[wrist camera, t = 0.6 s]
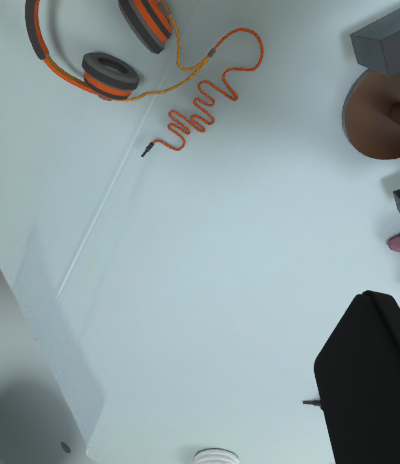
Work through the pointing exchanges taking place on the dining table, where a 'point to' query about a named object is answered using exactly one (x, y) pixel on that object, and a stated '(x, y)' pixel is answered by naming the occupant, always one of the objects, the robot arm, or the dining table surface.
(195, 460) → the stack of white coasters
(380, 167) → the dining table surface
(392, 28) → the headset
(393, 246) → the video game controller
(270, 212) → the dining table surface
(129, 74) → the headphones
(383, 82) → the headphone stand
